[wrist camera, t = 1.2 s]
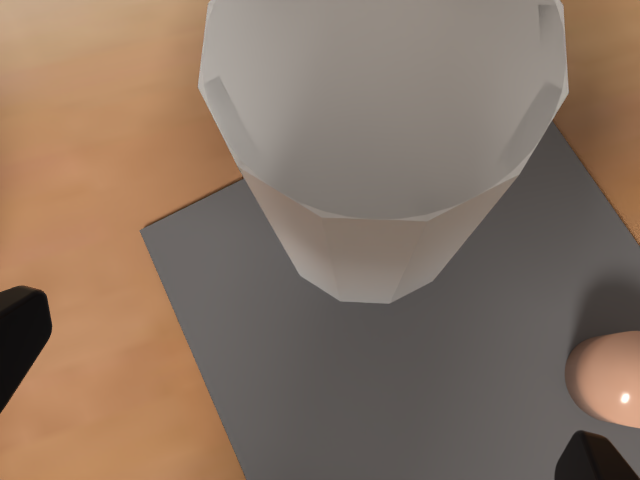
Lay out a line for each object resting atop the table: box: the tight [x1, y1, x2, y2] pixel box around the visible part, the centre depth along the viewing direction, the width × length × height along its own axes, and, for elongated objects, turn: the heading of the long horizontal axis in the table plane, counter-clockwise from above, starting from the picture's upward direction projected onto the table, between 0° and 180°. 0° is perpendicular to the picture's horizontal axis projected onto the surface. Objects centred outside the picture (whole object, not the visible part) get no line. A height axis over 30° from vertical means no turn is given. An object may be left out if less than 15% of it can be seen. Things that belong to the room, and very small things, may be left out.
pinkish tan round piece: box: [565, 331, 640, 428], centre depth 19 cm, size 3×3×2 cm
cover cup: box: [198, 0, 569, 304], centre depth 17 cm, size 7×7×12 cm
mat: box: [140, 121, 640, 480], centre depth 21 cm, size 20×18×1 cm
